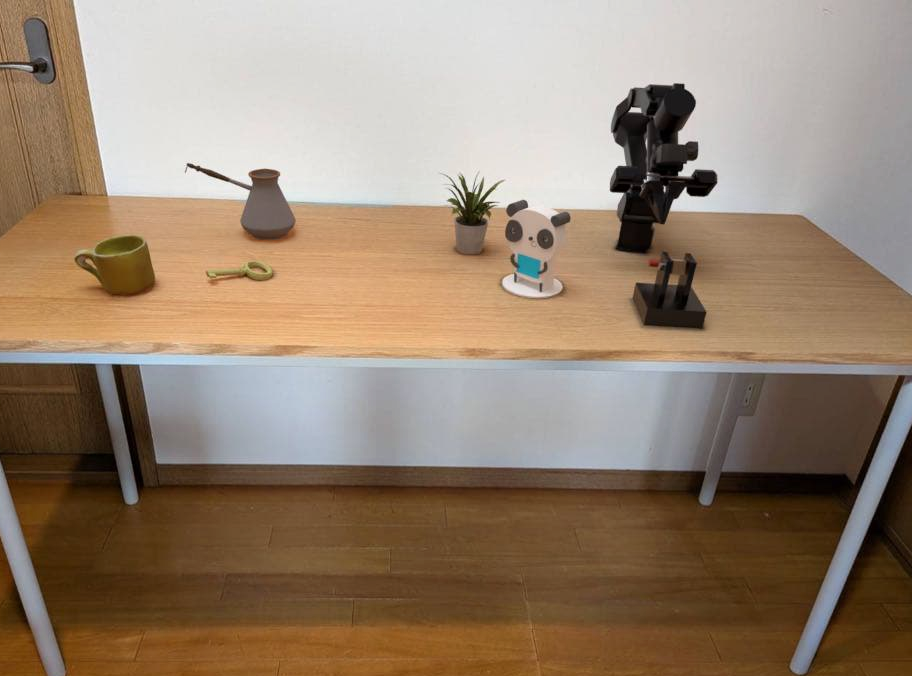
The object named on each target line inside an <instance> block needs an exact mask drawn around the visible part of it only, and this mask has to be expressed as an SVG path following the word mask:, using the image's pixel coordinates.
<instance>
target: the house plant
mask: <svg viewBox="0 0 912 676" xmlns="http://www.w3.org/2000/svg"><path fill="white" fill-rule="evenodd" d="M480 172H481V169H480V170H479V171H478V172H477V174H476V176H475V178H474V181H473V185H472V190H471V191H470V190H469V187H468V185H467V182H466V177H464V175H463V174H462V173H461V172H459V174H457V177H458V180H459V181H460V184H461V187H462V189H463V192H464V194H463V192H462V191H461V190H460V189H459V187H458V186H457V184H456V183H455V181H454V180H453V179H452V178H451V177H450V176H448V175H447V174H445V173H442V172H439V174H440V175H443V176H445V177H447V178H448V179H449V180H450V181H451V183H452V184H450V183H443V184H441V185H445V186H447V185H449V186H452V187H453V188H454V189H455V190H456V191H457V192H458V195H459V196H460V199H459V198H458V196H457V194H456V193H455V192H454V191H453V190H452V189H451V188H448V187H446V189H447V190H449V191H450V192H451V194H452V195H453V196H454V197H455V198H454V197H450V198H447V200H446V202H449V203H450V204H451V205H452V206H451V208H452V210H451V215H450V216H451V217H452V216H453V215H455V214H458V216H456V217H454V218H453V225H454V233H455V234H454V235H455V244H456V251H457V252H459V253H460V254H463V255H477V254H480V253H482V250H483V248H484V242H485V239H486V234H487V230H488V227H489V221H490V219H491V216H492V212H491V211H490V210H491V209H492V208H494V207H498V205H497V204H499V203H501V201H500V202H499V201H486V199H487V198H488V196H490V194H492V192H493V191H494V190H496V189H497V187H498V186H499V185H500V184H501V183H503V182H505V181H506V179H502V180H499V181H498V182H496V183H494V184H493V185H492V186H490V188H488V190H487V191H486V192H485V193H484V194H483V195H482V196H481V194H482V192H483V189H484V184H485V176H484V175H483V177H482V179H481V181H480V182H479V184H477V185H476V180H477V178H478V176H479V174H480ZM477 188H478V190H477ZM476 191H477V193H476ZM460 200H461V201H462V203H463V205H462V203H461V201H460ZM490 204H492V205H490ZM454 206H456V207H454ZM443 207H449V205H448V204H445V205H443ZM485 215H486V216H487V217H488V219H487V218H485V217H484V216H485Z"/></svg>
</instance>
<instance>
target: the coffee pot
mask: <svg viewBox="0 0 912 676" xmlns="http://www.w3.org/2000/svg"><path fill="white" fill-rule="evenodd" d="M188 168H189V169H193V170H195V171H196V172H197V173H198V172H201V173H202V174H205V175H206V176H208V177H210V178H214V179H218V180H220V181H223V182H226V183H230V184H233V185H235V186H238V187H240V188H243V189H245V190H247V191H249V192H248V196H247V199H246V202H245V205H244V208H243V211H242V214H241V217H240V225H241V227H242V229H243V230H244V231H245V232H246V233H247V234H249V235H250V237H252V238H254V239H256V240H262V241H274V240H279V239H283V238H285V237H287V236H288V234H289V233H290V232H291V231H292V230H293V229H294V227H295V225H296V222H297V219H296V216H295V215H294V213H293V211H292V209H291V207H290V205H289V203H288V201H287V199H286V197H285V195H284V193H283V191H282V189H281V187H280V184H279V177H281V172H280V171H279V170H276V169H272V168H259V169H254V170H250V171H249V172H248V174H247V175H248V177H249V178H250V180H251V182H252V183H251V185H250V184H248V183H247V184H246V183H244V182H241V181H238V180H236V179H232V178H230V177H228V176H226V175H224V174H221V173H219V172H217V171H214V170H213V169H208V168H204V167H201V166H200V165H194V164H193V163H190V162H186V167H185V169H184V174H186V173H187V170H188Z"/></svg>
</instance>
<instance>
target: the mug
mask: <svg viewBox="0 0 912 676" xmlns="http://www.w3.org/2000/svg"><path fill="white" fill-rule="evenodd" d="M151 257H152V256H151V253H150V249H149V245H148V242H147V240H146V239H145V238H144V237H143V236H140V235H131V234H130V235H119V236H114V237H110V238H109V237H108V238H106V239H103V240H102V241H99V242H98V243H96V244H95V245H94V246H93V249H92V250H91V249H80V250H78V251H77V253H76V254H75V256H74V259H73V260H74V262H75V263H76V265H77V266H78V267H79V268H81V269H82V270H84V271H86V272H88V273H90V274H91V275H93V276H94V277H95V278H96V279H97V280H98V282H99V283H100V285H102V287H104V288H105V289H106V290H107V291H108V292H109V293H111V294H113V295H125V296H135V295H139V294H141V293H145V292H146V291H147V290H149V289H150V288H152V287H153V286H154V285H155V282H156V274H155V270H154V268H153V263H152V259H151ZM86 260H91V262H92V263H93V265H94V266H93V265H91V264H90V263H88V262H87V261H86Z"/></svg>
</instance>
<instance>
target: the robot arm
mask: <svg viewBox="0 0 912 676" xmlns="http://www.w3.org/2000/svg"><path fill="white" fill-rule="evenodd" d="M685 84H686V83H679V82H674V83H673V84H651V83H650V84H647V85H646V86H644V87H636V86H635V87H633V88H630V89H629V91H628V94H627V97H625V98H624V99H623V100H621V102H620V103H619V104H617V105H616V107H615V110H614V112H613V114H612V115H613V116H612V118H611V123H610V133H611V134H612V136H613V140H614V142H615V144H617V145H618V146H620V147H621V148H623V154H624V160H625V165H618V166H616V167H615V168H614V170H613V173H612V175H611V177H610V180H609V192H611V193H613V194H622V196H621V197H620V199H619V201H618V203H617V209H616V216H617V218H618V221H619V222H621V223H620V228H619V233H618V234H619V235H618V240H617V243H616V245H615V248H614V249H615V250H618V251H619V250H620V251H624V252H631V253H636V254H645V255H646V254H647V253H648V250H651V248H652V246H653V241H654V238H655V232H656V226H654V224H659V225H665V224H666V222H667V219H668V217H669V214H670V211H671V208H672V205H673V203H674V200H677V199H679V198H680V197H681V195H682V193H683V192H684V190H685V189H686V190H685V191H686V192H685V193H686V194H687V195H688V196H689V197H693V198H694V197H695V198H705V197H708V196H709V195H710V194H711V192H712V191H713V190H714V189H715V187H716V186H717V185H718V174H717V172H716V171H715V170H714V169H701V168H700V169H699V168H698V169H697V168H696V169H694V171H693V172H692V174H691V175H689V176H688V175H679V173H682V172H683V170H684V165H687V164H688V162H694V161H696V160H697V159H698V157H699V141H695V140H694V141H693V140H692V141H691V140H689V141H687V142H686V143H685V144H683V143H681V144H680V143H679V132H680V131H682V130H683V129H684V127H685V125H686V124H687V122H688V121H689V119H690V117H691V115H692V114H693V112H694V111H695V109H696V107H697V100H696V98H695V96H694V94H693V93H692V92H690V91H689V90H688V89H687V88H686V85H685ZM632 108H635V109H640V112H638V111H631V109H632Z"/></svg>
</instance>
